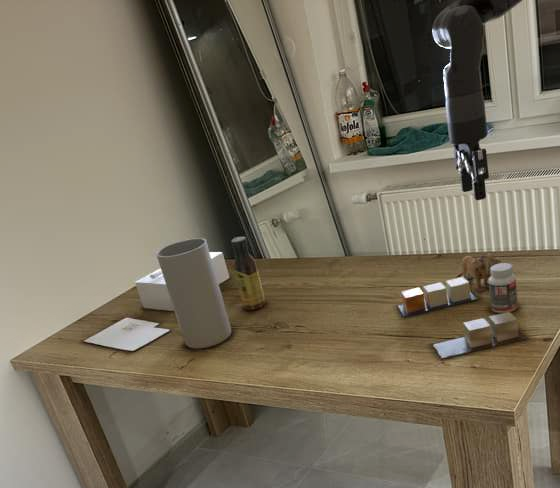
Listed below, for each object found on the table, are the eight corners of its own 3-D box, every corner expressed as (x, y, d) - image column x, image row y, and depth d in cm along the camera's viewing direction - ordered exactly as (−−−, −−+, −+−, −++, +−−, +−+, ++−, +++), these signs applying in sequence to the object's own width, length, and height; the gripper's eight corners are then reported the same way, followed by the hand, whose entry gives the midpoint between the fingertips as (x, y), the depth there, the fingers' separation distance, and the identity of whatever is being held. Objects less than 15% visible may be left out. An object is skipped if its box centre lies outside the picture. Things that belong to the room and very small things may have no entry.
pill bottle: (517, 313, 150) (513, 270, 145) (490, 314, 152) (486, 273, 148) (518, 302, 154) (515, 261, 150) (492, 303, 157) (488, 263, 152)
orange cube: (421, 302, 166) (418, 287, 164) (425, 309, 162) (423, 293, 160) (403, 306, 166) (400, 291, 164) (407, 313, 162) (405, 298, 160)
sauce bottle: (241, 306, 192) (223, 239, 183) (262, 299, 193) (245, 232, 184) (248, 313, 186) (229, 244, 177) (269, 306, 187) (251, 237, 178)
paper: (80, 343, 195) (78, 340, 195) (124, 317, 206) (123, 314, 205) (135, 352, 179) (134, 349, 179) (180, 324, 190) (179, 321, 190)
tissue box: (229, 277, 217) (220, 245, 212) (174, 311, 201) (163, 276, 196) (198, 276, 226) (189, 245, 221) (143, 308, 210) (132, 275, 206)
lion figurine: (506, 287, 163) (503, 252, 159) (488, 295, 161) (485, 259, 157) (465, 275, 175) (461, 242, 171) (448, 282, 173) (444, 249, 169)
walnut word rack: (513, 326, 144) (512, 308, 143) (526, 339, 138) (525, 320, 136) (432, 345, 145) (430, 327, 143) (442, 359, 139) (439, 340, 137)
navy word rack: (467, 290, 166) (466, 273, 165) (477, 300, 160) (475, 283, 158) (397, 306, 167) (395, 290, 165) (404, 317, 161) (401, 300, 159)
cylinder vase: (229, 323, 183) (204, 234, 171) (234, 341, 171) (207, 247, 160) (184, 336, 182) (156, 247, 171) (186, 354, 171) (156, 261, 160)
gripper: (496, 115, 131) (503, 198, 138) (472, 108, 144) (480, 184, 151) (458, 124, 131) (467, 206, 138) (438, 117, 144) (446, 192, 151)
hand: (473, 195), depth 145 cm, fingers open, 8 cm apart
